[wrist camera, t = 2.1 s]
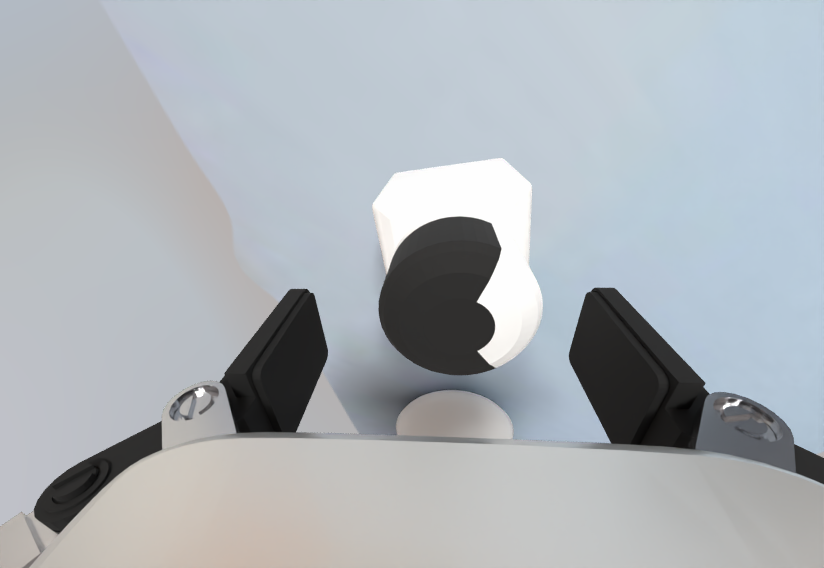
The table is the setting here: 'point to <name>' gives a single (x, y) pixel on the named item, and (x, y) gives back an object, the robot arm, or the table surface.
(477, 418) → the flower in vase
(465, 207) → the medicine bottle
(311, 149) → the table surface
